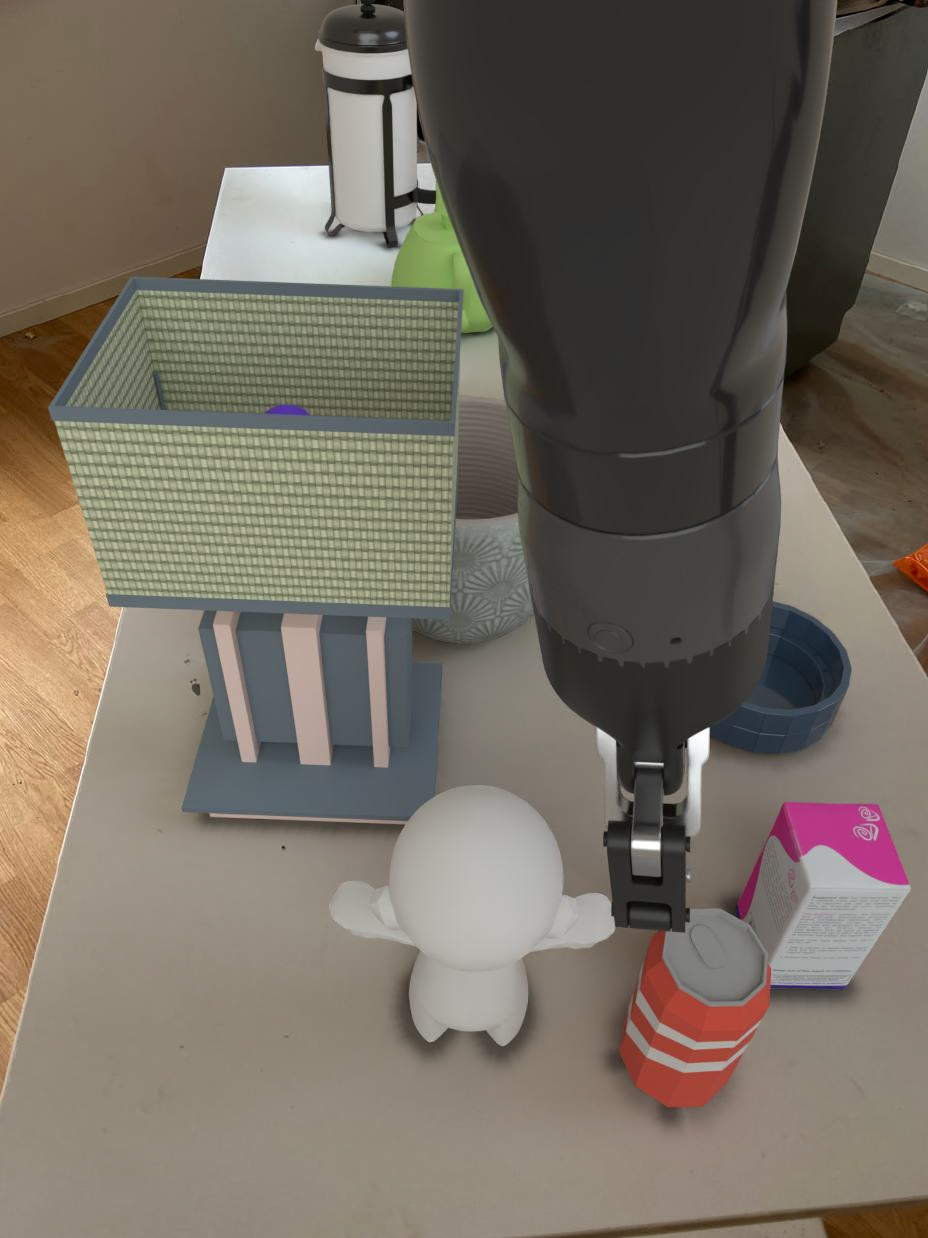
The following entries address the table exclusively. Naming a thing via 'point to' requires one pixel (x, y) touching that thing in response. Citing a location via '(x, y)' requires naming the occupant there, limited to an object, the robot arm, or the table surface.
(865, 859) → the supplement box
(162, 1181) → the table surface
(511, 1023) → the figurine
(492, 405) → the planter
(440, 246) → the teapot
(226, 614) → the desk lamp
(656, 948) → the beverage can
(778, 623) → the bowl
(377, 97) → the coffee press
